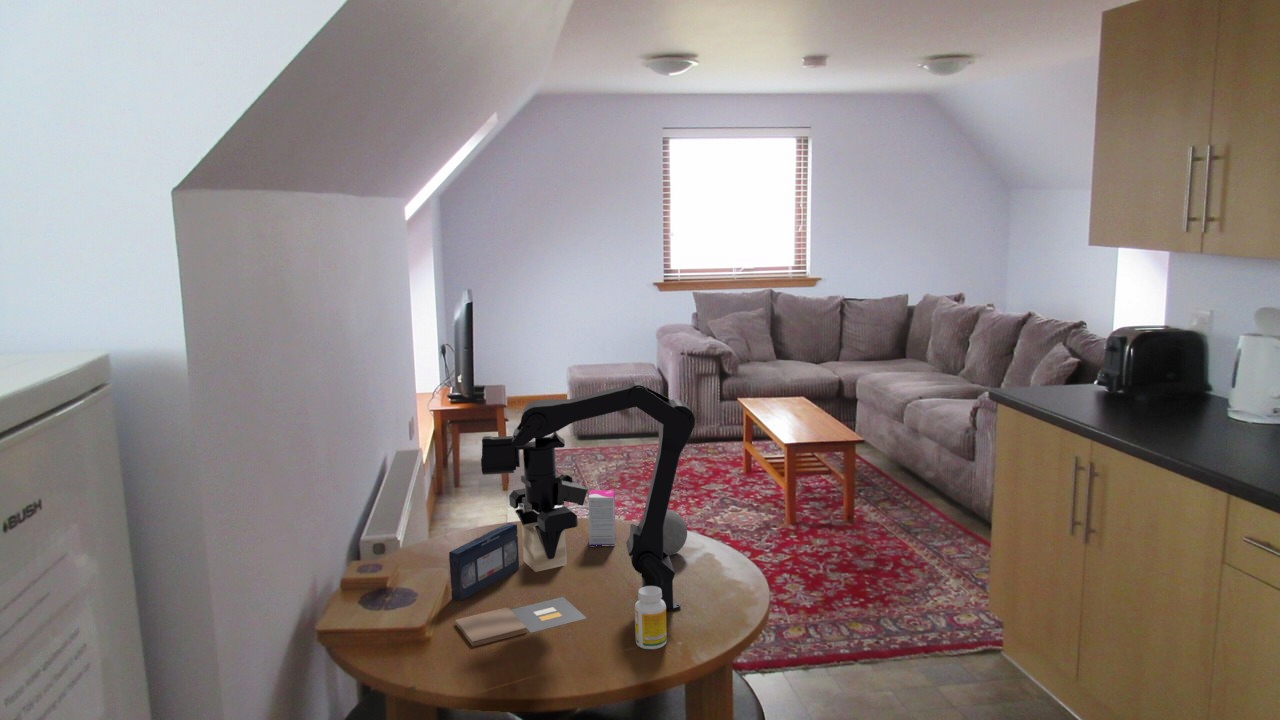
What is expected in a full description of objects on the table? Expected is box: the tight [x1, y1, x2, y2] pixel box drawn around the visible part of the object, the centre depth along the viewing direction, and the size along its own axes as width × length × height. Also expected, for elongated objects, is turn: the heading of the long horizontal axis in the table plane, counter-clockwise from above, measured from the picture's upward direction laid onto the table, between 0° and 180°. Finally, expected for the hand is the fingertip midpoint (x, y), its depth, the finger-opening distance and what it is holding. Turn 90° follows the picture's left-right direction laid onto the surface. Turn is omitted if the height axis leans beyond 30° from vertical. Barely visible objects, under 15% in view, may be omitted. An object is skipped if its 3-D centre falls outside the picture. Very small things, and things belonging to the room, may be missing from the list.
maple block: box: [521, 522, 567, 573], centre depth 167 cm, size 6×6×7 cm
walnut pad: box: [455, 606, 528, 647], centre depth 164 cm, size 10×10×1 cm
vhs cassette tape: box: [448, 522, 520, 602], centre depth 183 cm, size 18×3×10 cm, turn 148°
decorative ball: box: [663, 508, 688, 557], centre depth 196 cm, size 10×10×10 cm
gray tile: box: [510, 596, 587, 634], centre depth 169 cm, size 11×11×1 cm
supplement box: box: [588, 489, 616, 546], centre depth 204 cm, size 6×6×12 cm
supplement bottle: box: [634, 586, 668, 650], centre depth 156 cm, size 5×5×10 cm
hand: (544, 553), depth 167 cm, fingers closed on maple block, 6 cm apart
